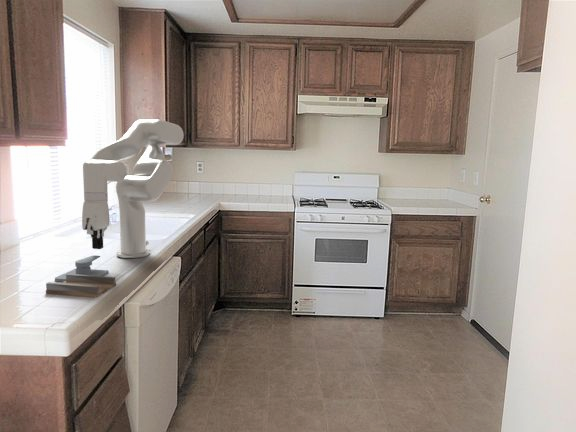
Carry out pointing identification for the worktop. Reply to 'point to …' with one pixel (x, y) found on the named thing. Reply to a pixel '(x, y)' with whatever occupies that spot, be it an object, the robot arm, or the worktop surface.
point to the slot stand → (81, 285)
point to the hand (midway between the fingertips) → (97, 248)
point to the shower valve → (83, 269)
